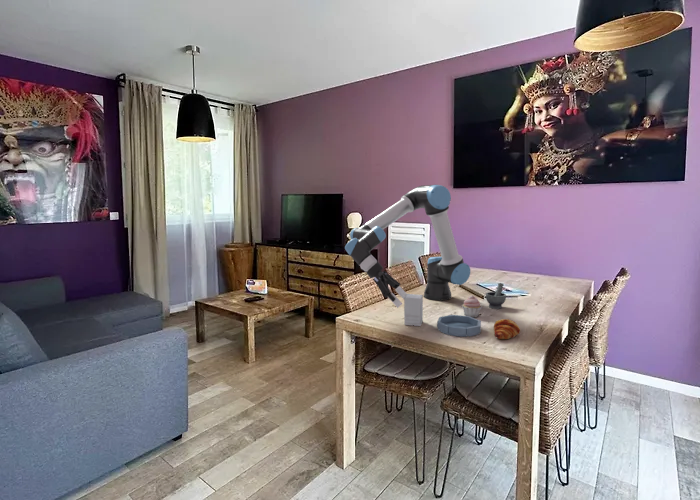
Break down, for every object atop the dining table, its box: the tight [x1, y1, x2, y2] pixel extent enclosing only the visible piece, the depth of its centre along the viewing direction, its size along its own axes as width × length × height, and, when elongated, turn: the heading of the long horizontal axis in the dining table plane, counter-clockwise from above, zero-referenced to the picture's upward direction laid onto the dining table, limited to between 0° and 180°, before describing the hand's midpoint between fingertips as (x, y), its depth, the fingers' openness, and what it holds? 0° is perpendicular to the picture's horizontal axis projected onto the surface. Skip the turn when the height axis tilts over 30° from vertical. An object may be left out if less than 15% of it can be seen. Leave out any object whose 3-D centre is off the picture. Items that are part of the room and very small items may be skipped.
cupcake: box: [461, 295, 483, 318], centre depth 189 cm, size 9×9×10 cm
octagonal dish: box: [436, 314, 482, 338], centre depth 170 cm, size 18×18×4 cm
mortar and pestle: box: [485, 282, 507, 310], centre depth 203 cm, size 11×9×12 cm
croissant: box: [493, 318, 521, 340], centre depth 164 cm, size 21×10×8 cm, turn 144°
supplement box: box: [403, 293, 424, 327], centre depth 178 cm, size 7×7×13 cm
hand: (403, 301), depth 179 cm, fingers open, 13 cm apart
